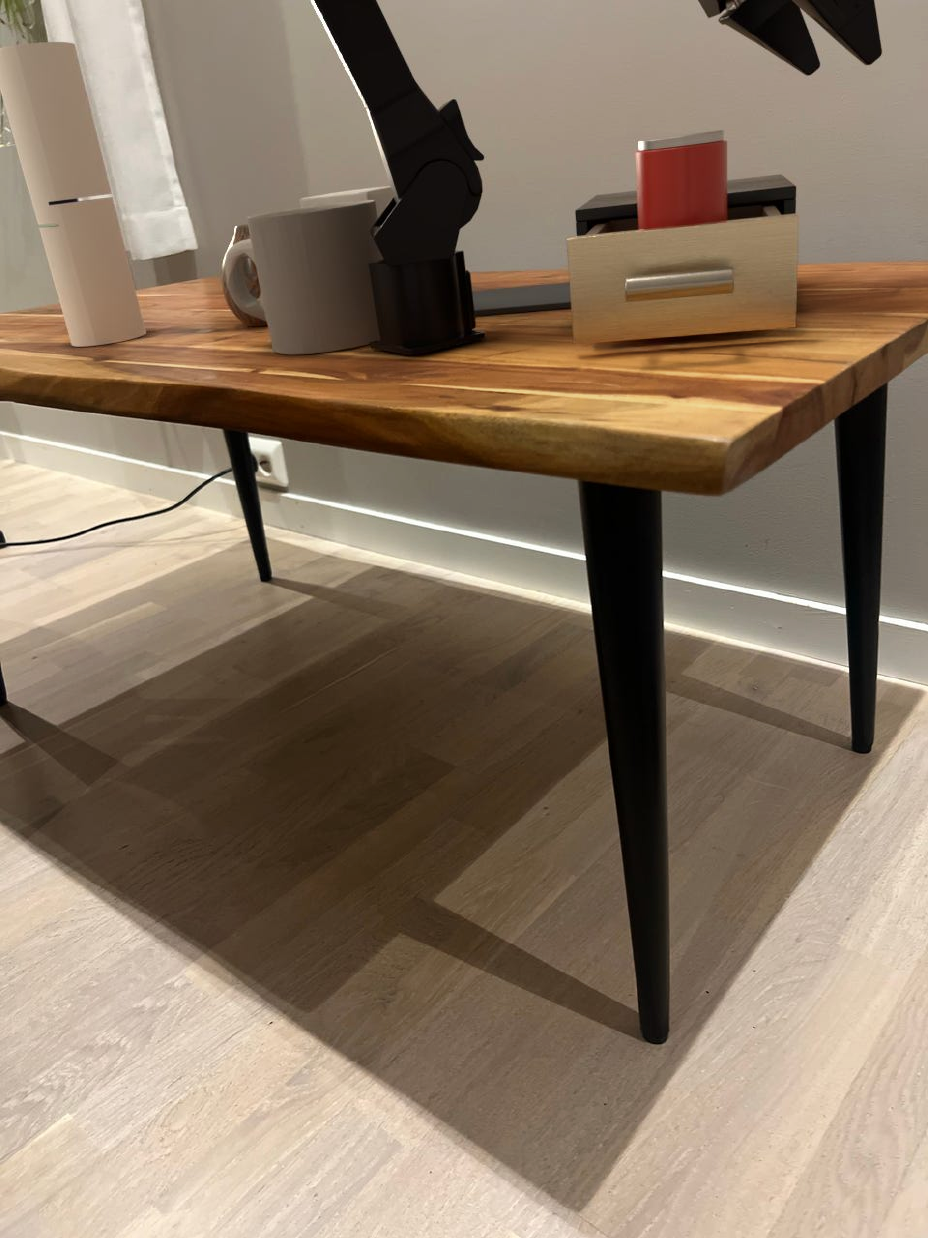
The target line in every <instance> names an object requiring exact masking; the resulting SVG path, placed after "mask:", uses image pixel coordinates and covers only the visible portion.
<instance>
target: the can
mask: <svg viewBox="0 0 928 1238" xmlns="http://www.w3.org/2000/svg"><path fill="white" fill-rule="evenodd" d="M637 143H638V146H637V147H638V148H637V149H638V150H637V151H635V152H634V153H635V177H636V178H635V180H636V191H637V208H638V230H641V229H651V228H661V227H670V226H680V225H690V224H699V223H709V222H718V221H727V180H728V141H727V140H725V130H724V129H719V130H710V131H700V132H693V133H692V132H691V133H684V134H683V133H682V134H676V135H669V136H663V137H654V138H647V139H640V140H638V141H637Z"/></svg>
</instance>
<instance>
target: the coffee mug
mask: <svg viewBox="0 0 928 1238" xmlns="http://www.w3.org/2000/svg"><path fill="white" fill-rule="evenodd" d="M377 219H378V216H377V209H376V204H375V201H374V200H364V201H353V202H343V203H334V204H326V205H318V206H311V207H303V208H301V207H297V208H290V209H289V208H288V209H283V210H277V211H271V212H265V213H260V214H259V213H258V214H254V215H250V216H247V217H246V221H247V223H246V224H248V228H249V233H250V238H251V239H247V240H242V241H240V242H238V243H235V244H234V245H233V246H232V247H231V248H230V249H229V250H228V249H227V250H228V252H227V251H226V253H227V254H226V253H225V255H226V258H225V263H224V267H225V278H226V283H227V286H228V290H229V292H230V295H231V297H232V299H233V301H234V303H235V304H236V305H237V306H238V307H239V308H240V309H241V310H242V311H243V312H245V313H247V314H249V315H251V316H253V317H256V318H259V319H262V320H264V321H266V322H267V324H268V325H267V329H268V334H269V339H270V344H271V345H270V346H271V349H272V351H273V352H274V353H277V354H280V355H312V354H321V353H330V352H331V353H332V352H339V351H344V350H350V349H355V348H359V347H364V346H368V345H370V342H372V341H376V340H380V337H379V330H378V324H377V317H376V310H375V304H374V297H373V290H372V284H371V277H370V270H369V264H370V263H375V262H378V261H380V260H384V259H383V257H382V255H381V253H380V251H379V249H378V247H377V245H376V243H375V241H374V239H373V237H372V235H371V233H370V230H371V227H372V226H373V225H374V223H375V222H376V220H377ZM246 258H250V259H252V261H253V262H254V263H255V265H256V269H257V274H258V279H259V284H260V289H261V293H260V297H259V299H257V298H255V297H254V296H252V295H251V294H250V292H249V290H248V288H247V286H246V283H245V279H244V273H243V265H244V261H245V260H246Z"/></svg>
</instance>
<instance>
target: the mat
mask: <svg viewBox="0 0 928 1238" xmlns="http://www.w3.org/2000/svg"><path fill="white" fill-rule="evenodd" d="M472 292H473V301H474V311H475V317H481V316H482V317H484V316H493V315H494V316H495V315H505V314H516V313H528V312H540V311H551V310H553V311H554V310H564V309H571V298H570V283H569V281H567V282H565V281H564V282H556V283H555V282H554V283H545V284H535V285H523V286H513V287H511V286H510V287H503V288H502V287H501V288H493V289H492V288H490V289H480V290H472Z"/></svg>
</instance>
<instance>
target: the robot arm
mask: <svg viewBox="0 0 928 1238" xmlns="http://www.w3.org/2000/svg"><path fill="white" fill-rule="evenodd" d="M310 1H311V4H312V6H313V8H314V10H315V12H316V14H317V16H318V17H319V19H320V21H321V23H322V25H323V28H324V29H325V31H326V33H327V35H328V37H329V40H330V42H331V43H332V46H333V47H334V49H335V51H336V53H337V55H338V58H339V60H340V61H341V63H342V65H343V67H344V69H345V71H346V72H347V73H346V74H347V75H348V77H349V79H350V80H351V83H352V84H353V86H354V88H355V90H356V92H357V94H358V96H359V98H360V100H361V102H362V104H363V106H364V108H365V110H366V112H367V116H368V119H369V122H370V125H371V128H372V132H373V135H374V138H375V142H376V145H377V149H378V152H379V155H380V159H381V162H382V164H383V168H384V170H385V174H386V177H387V181H388V183H389V186H391V189H392V193H393V196H394V197H393V198H392V199H391V201H390V202H389V204H388V205H387V206H386V208H385V209H384V211H383V212H382V213H381V215H380V216H379V218H378V219H377V220H376V222H375V223H374V225H373V226H372V227H371V230H370V233H371V235H372V237H373V239H374V241H375V243H376V245H377V247H378V249H379V251H380V253H381V255H382V257H383V259H384V260H380V261H378V262H375V263H370V264H369V270H370V277H371V284H372V290H373V297H374V304H375V310H376V317H377V324H378V330H379V337H380V340H376V341H372V342H370V344H369V348H370V349H371V350H377V351H384V352H389V353H396V354H403V355H409V356H417V355H422V354H427V353H431V352H436V351H439V350H443V349H447V348H451V347H455V346H459V345H463V344H468V343H471V342H475V341H479V340H483V339H485V338H486V337H487V336H486V331H485V330H477V329H476V326H477V321H476V316H475V311H474V301H473V292H472V291H473V285H472V284H473V283H472V275H471V272H470V271H469V270H468V269H466V262H465V261H466V260H465V252H464V250H457V246H458V245H457V244H458V241H459V236H460V232H461V229H462V228H464V227H465V226H466V225H467V224H468V223H470V222H471V221H472V219H473V217H474V216H475V215H476V213H477V211H478V210H479V206H480V203H481V200H482V196H483V191H484V189H483V179H482V176H481V173H480V170H479V167H478V165H477V163H476V162H482V161H484V159H485V155H484V154H483V153H482V152H481V151H480V150H479V149H478V148H477V147H476V146H475V145H474V144H473V142H472V140H471V138H470V137H469V135H468V132H467V129H466V126H465V123H464V122H465V121H464V119H463V116H462V111H461V109H460V106H459V104H458V103H459V102H458V101H457V100H456V99H455V98H453V99H450V100H449V101H447V102H444V103H443V104H442V105H440V106H439V108H437V107H436V106H435V105H434V104H433V102H432V100H431V99H430V98H429V97H428V95H427V94H426V93H425V92H424V91H423V89H422V88H421V87H420V85H419V83H418V82H417V81H416V79H415V77H414V76H413V73H412V72H411V69H410V67H409V66H408V63H407V61H406V59H405V57H404V55H403V52H402V50H401V48H400V46H399V45H398V42H397V40H396V38H395V36H394V34H393V32H392V29H391V28H390V26H389V24H388V22H387V19H386V17H385V16H384V13H383V11H382V9H381V6H380V5H379V3H378V0H310ZM697 2H698V3H699V5H700V6H701V8H702V10H703V12H704V13H705V15H706V17H707V19H710V18H713V17H716V16H718V15H720V17H719V18H718V19H717V21H718V22H719V24H721V25H722V26H724V25H725V26H727V27H729V28H730V29H732V30H734V31H736V32H737V33H739V34H740V35H741V36H744V37H745V38H747V39H749V40H751V41H752V42H753V43H755V44H757V45H758V46H760V47H761V48H763V49H764V50H766V51H767V52H769V53H771V54H772V55H773V56H775V57H777V58H779V60H781V61H783V62H784V63H786V64H788V65H789V66H791V67H792V68H794V69H795V70H797V71H798V72H800V73H802V74H803V75H804V76H812V75H813V74H814V73H815V72H817V70H819V69H820V67H821V62H820V58H819V55H818V52H817V50H816V46H815V43H814V40H813V38H812V35H811V32H810V30H809V28H808V26H807V23H806V20H805V17H804V15H803V13H805V14H806V15H807V16H808V17H809V18H811V19H812V20H813V21H814V22H815V23H817V25H819V26H820V28H822V29H823V30H824V31H825V32H826V33H827V34H829V36H831V37H832V38H833V39H834V40H835V41H836V42H837V43H839V44H840V45H841V46H842V47H843V48H844V49H845V50H846V51H847V52H849V54H851V55H852V56H853V57H855V58H856V59H857V60H858V61H860V62H861V64H863V65H864V66H871V65H873V64H874V63H875V62H876V61H877V60H878V59H879V58H881V56H882V54H883V47H882V44H881V41H882V40H881V36H880V29H879V22H878V15H877V10H876V9H877V8H876V1H875V0H697ZM724 11H725V12H724ZM723 12H724V13H723ZM802 12H803V13H802ZM722 13H723V14H722ZM721 14H722V15H721Z"/></svg>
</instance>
